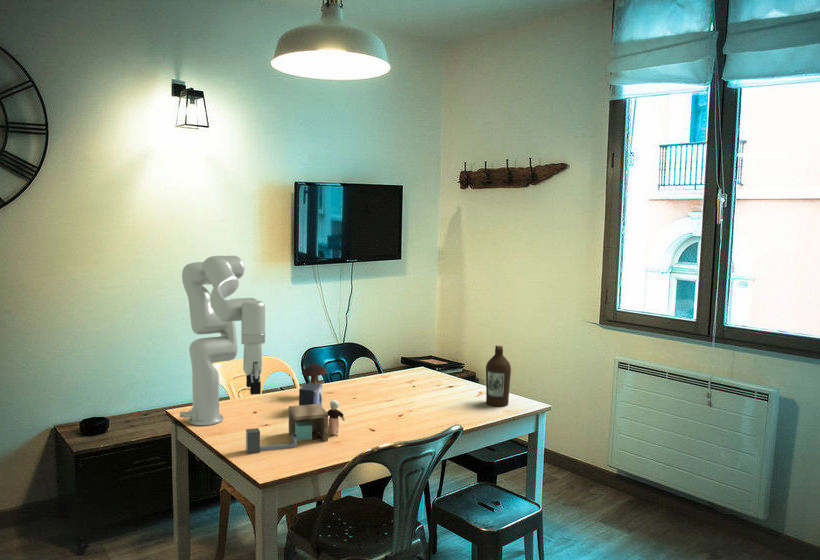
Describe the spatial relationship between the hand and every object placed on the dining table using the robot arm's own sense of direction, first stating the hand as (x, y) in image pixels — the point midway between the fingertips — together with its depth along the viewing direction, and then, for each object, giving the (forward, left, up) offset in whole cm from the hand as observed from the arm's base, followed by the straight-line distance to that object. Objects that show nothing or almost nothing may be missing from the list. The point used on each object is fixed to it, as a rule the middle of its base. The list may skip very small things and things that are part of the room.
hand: (253, 390), depth 209 cm
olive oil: (+105, +26, -21) cm, 110 cm away
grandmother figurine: (+29, +8, -21) cm, 37 cm away
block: (+18, +8, -21) cm, 29 cm away
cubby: (+20, +8, -20) cm, 30 cm away
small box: (+27, +38, -21) cm, 51 cm away
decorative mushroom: (+33, +58, -21) cm, 70 cm away
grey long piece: (+6, +1, -20) cm, 21 cm away
